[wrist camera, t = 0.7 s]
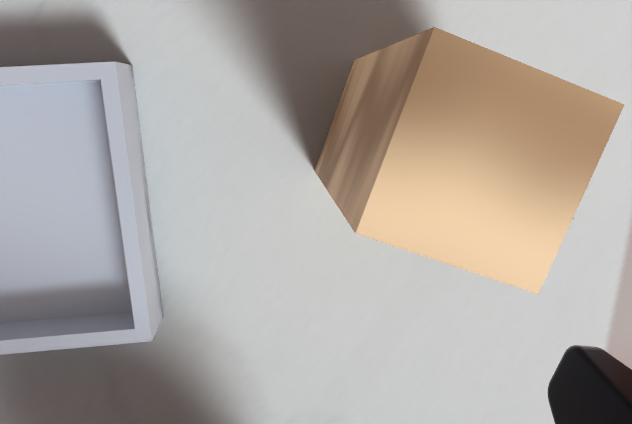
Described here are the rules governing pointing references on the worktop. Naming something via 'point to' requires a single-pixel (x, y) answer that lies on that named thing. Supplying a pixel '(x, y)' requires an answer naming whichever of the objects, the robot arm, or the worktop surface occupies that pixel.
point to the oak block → (464, 155)
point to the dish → (74, 210)
